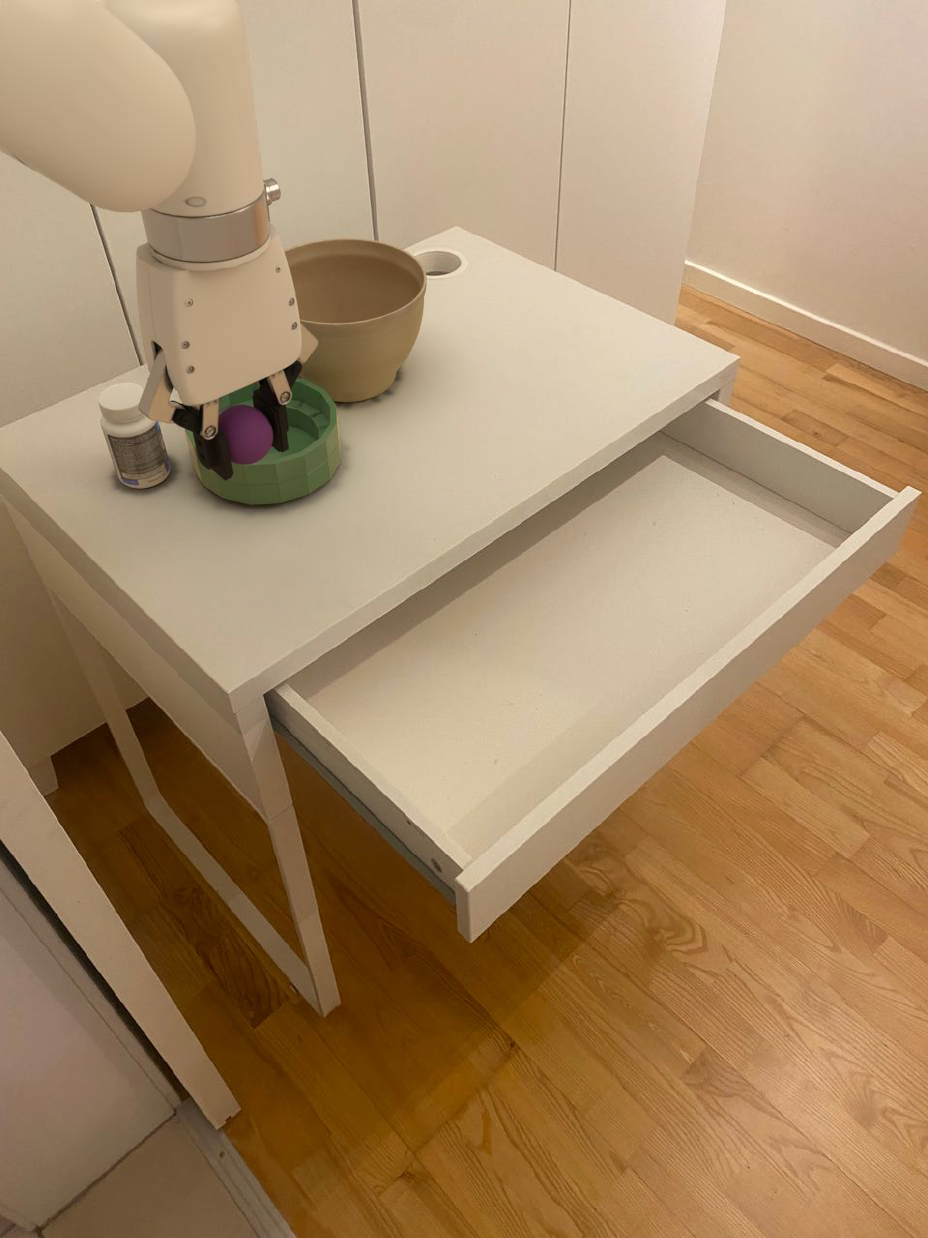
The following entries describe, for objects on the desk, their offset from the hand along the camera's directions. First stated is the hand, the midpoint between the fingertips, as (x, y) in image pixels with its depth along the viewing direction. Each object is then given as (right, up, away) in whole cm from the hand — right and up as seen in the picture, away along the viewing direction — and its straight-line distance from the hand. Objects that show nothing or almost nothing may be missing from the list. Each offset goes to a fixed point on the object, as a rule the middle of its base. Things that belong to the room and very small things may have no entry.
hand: (246, 454), depth 72 cm
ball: (0, +1, -1) cm, 2 cm away
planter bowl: (+5, +12, +25) cm, 29 cm away
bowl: (-2, +2, +16) cm, 16 cm away
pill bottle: (-13, +1, +15) cm, 19 cm away
